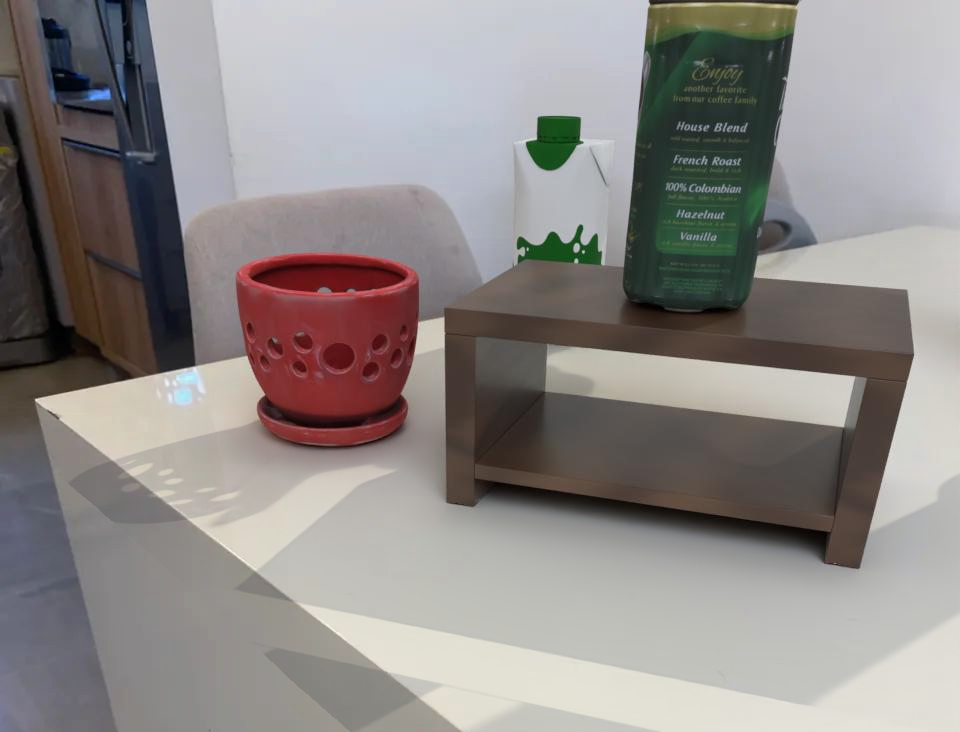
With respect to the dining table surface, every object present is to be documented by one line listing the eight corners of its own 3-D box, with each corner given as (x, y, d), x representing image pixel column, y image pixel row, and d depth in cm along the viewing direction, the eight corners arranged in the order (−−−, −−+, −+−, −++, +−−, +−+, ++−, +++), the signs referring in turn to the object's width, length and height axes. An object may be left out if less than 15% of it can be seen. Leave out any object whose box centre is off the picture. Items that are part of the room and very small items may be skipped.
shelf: (863, 470, 68) (907, 289, 61) (859, 568, 55) (914, 353, 48) (519, 425, 75) (525, 258, 68) (445, 502, 62) (443, 307, 56)
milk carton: (500, 338, 97) (504, 116, 86) (533, 319, 104) (541, 111, 93) (581, 349, 94) (596, 120, 83) (609, 328, 101) (626, 114, 90)
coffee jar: (754, 320, 54) (821, -90, 44) (615, 312, 55) (648, -88, 45) (749, 284, 62) (803, -69, 52) (627, 278, 63) (658, -68, 53)
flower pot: (228, 454, 69) (205, 283, 63) (284, 397, 80) (268, 247, 74) (403, 465, 68) (397, 291, 61) (435, 406, 79) (433, 254, 72)
